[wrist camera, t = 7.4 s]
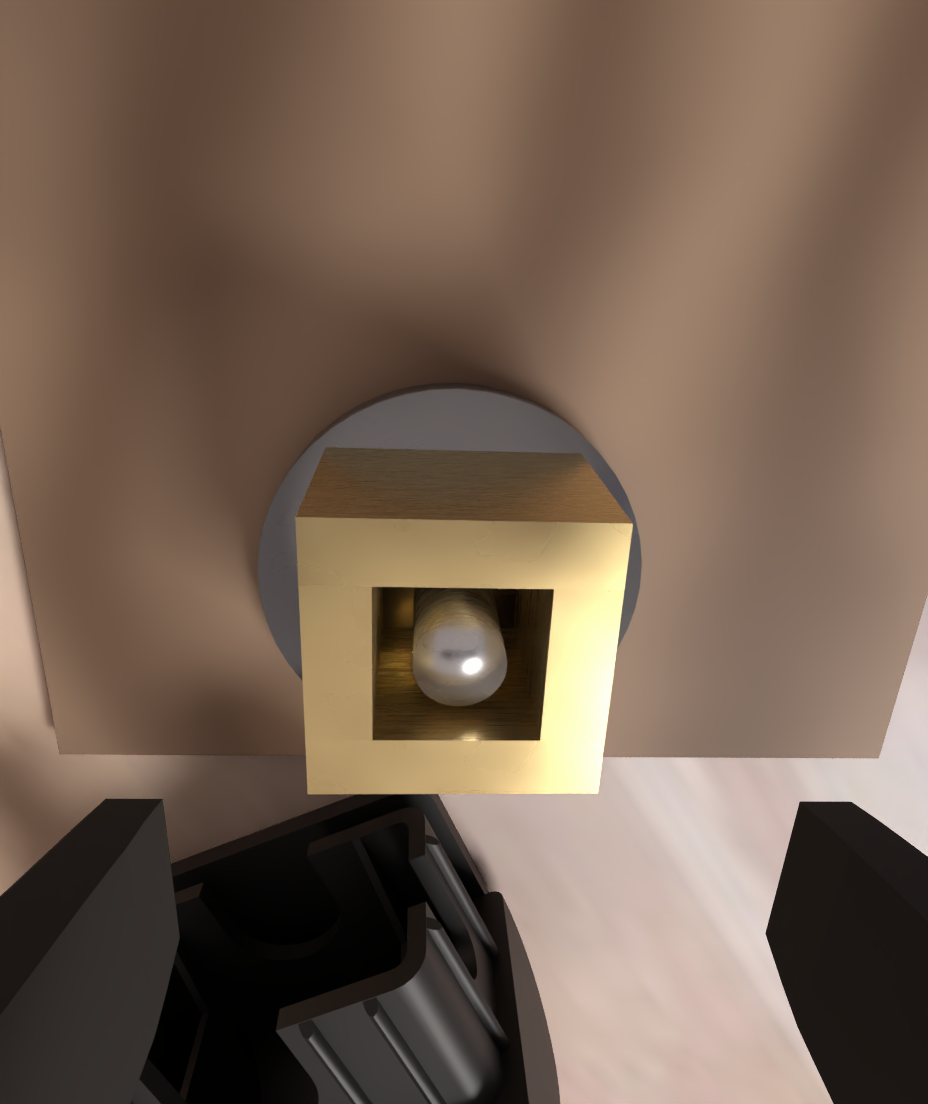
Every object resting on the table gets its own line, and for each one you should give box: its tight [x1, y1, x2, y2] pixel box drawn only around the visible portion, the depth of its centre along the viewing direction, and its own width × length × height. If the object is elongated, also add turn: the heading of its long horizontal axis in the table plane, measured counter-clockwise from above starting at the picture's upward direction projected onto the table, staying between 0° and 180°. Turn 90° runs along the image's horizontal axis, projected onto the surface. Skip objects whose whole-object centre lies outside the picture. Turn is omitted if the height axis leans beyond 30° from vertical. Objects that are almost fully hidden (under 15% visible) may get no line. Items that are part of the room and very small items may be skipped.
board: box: [0, 0, 928, 758], centre depth 16 cm, size 20×18×1 cm
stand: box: [258, 383, 642, 706], centre depth 15 cm, size 8×8×4 cm
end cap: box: [130, 794, 560, 1104], centre depth 18 cm, size 10×7×7 cm
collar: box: [295, 447, 633, 794], centre depth 14 cm, size 5×5×4 cm
